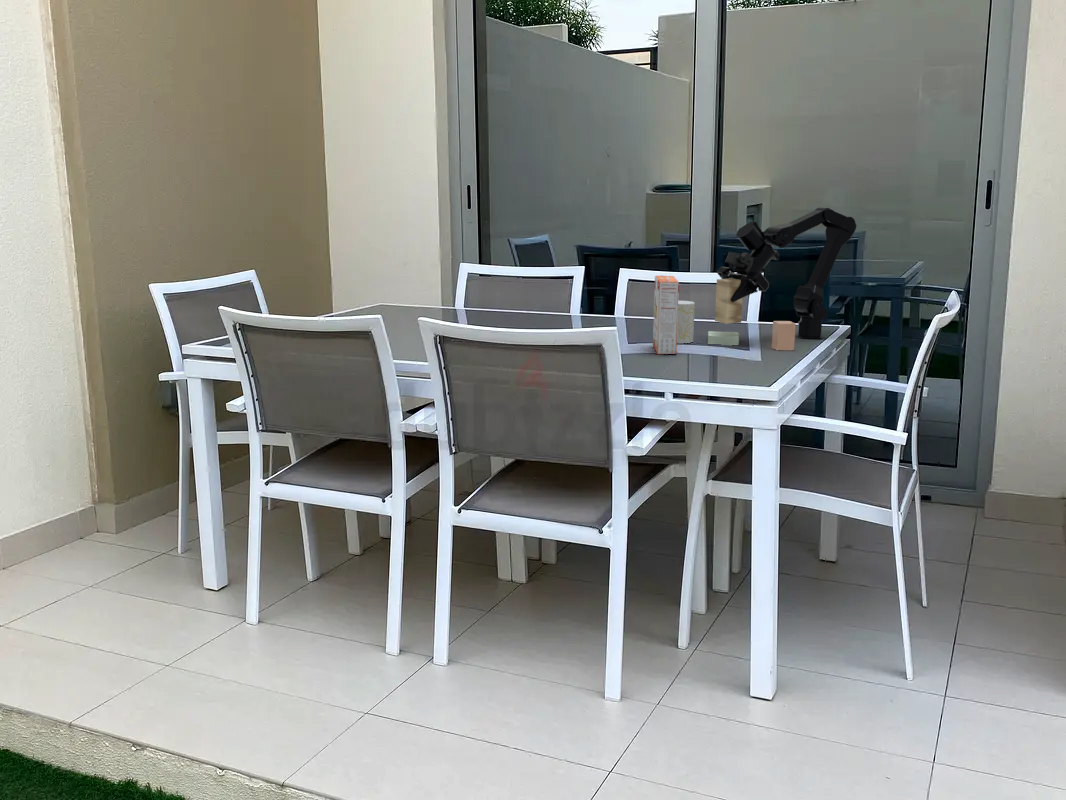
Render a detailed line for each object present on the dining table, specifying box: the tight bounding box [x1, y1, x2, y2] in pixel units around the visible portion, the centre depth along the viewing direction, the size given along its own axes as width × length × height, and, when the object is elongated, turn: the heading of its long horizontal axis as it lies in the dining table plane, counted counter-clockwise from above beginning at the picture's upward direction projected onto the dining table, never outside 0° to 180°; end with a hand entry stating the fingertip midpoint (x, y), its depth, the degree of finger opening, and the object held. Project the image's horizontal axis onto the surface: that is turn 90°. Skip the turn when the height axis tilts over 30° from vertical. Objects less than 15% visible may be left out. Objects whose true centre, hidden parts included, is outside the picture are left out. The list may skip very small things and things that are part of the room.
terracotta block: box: [771, 320, 796, 351], centre depth 300 cm, size 5×5×8 cm
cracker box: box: [652, 275, 680, 356], centre depth 294 cm, size 14×6×21 cm, turn 178°
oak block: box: [714, 278, 743, 325], centre depth 306 cm, size 6×6×12 cm
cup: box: [677, 300, 696, 343], centre depth 310 cm, size 8×8×12 cm
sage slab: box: [707, 330, 740, 346], centre depth 311 cm, size 9×9×3 cm
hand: (725, 299), depth 305 cm, fingers closed on oak block, 5 cm apart
